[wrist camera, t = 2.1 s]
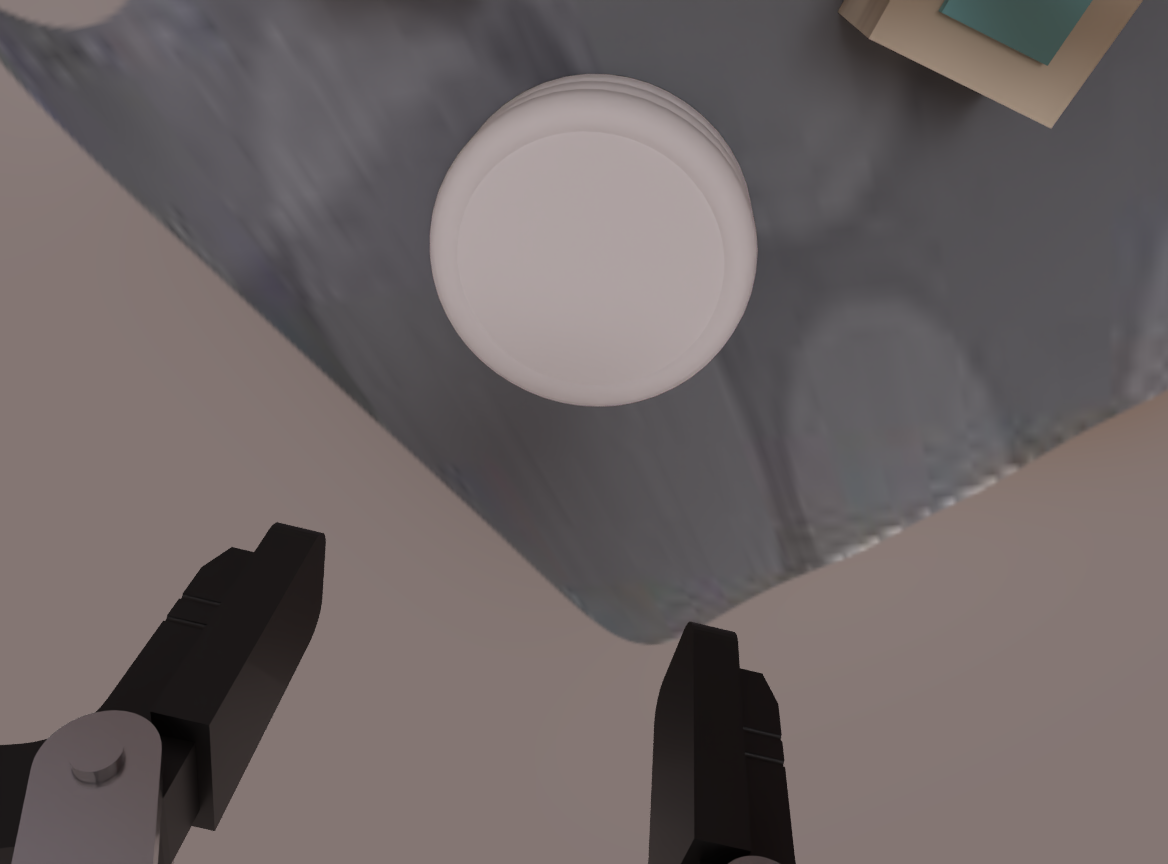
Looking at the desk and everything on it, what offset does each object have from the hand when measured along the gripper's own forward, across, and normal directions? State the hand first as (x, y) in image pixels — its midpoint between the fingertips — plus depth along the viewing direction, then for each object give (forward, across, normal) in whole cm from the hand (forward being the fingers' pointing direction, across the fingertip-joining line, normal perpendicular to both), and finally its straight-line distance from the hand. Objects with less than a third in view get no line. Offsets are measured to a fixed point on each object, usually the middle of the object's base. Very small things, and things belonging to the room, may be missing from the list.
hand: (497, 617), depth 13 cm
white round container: (+18, 0, 0) cm, 18 cm away
